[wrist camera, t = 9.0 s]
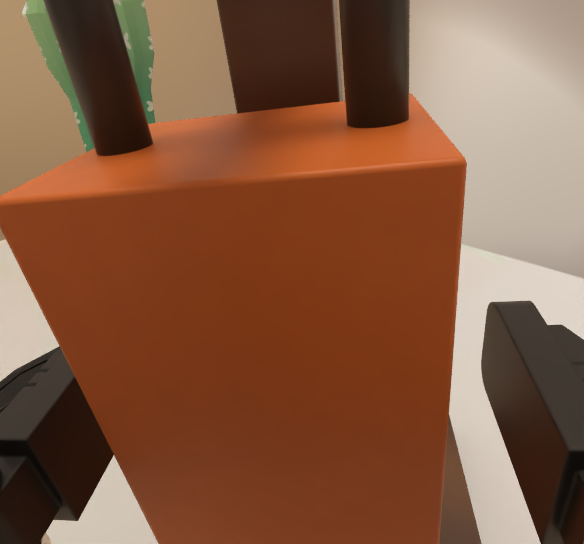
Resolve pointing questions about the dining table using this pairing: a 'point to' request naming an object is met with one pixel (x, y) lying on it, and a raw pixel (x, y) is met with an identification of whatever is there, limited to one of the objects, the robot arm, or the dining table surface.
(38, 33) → the potted cactus
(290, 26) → the hook stand
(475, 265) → the dining table surface
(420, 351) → the orange handled weight
